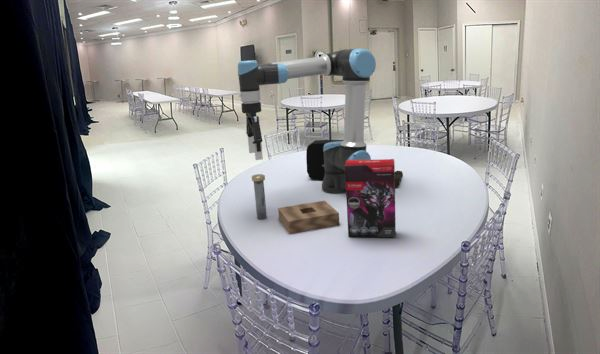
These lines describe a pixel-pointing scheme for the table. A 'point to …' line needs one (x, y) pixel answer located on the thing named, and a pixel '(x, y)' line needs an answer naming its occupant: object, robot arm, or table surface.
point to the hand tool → (398, 178)
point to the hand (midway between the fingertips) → (255, 156)
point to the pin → (260, 196)
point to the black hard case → (316, 159)
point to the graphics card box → (370, 198)
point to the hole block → (308, 216)
